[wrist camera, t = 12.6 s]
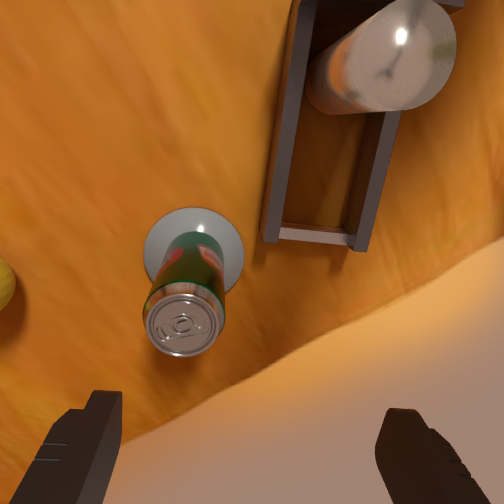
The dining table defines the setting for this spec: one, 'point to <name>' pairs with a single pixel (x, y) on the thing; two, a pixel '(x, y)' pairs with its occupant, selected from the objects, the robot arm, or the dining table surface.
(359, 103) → the grey metal cylinder
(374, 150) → the can rack
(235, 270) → the grey disc
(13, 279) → the lemon
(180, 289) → the soda can
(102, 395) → the robot arm
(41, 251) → the dining table surface
